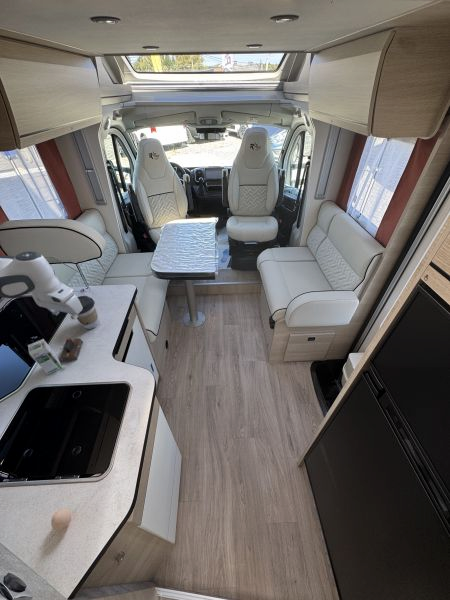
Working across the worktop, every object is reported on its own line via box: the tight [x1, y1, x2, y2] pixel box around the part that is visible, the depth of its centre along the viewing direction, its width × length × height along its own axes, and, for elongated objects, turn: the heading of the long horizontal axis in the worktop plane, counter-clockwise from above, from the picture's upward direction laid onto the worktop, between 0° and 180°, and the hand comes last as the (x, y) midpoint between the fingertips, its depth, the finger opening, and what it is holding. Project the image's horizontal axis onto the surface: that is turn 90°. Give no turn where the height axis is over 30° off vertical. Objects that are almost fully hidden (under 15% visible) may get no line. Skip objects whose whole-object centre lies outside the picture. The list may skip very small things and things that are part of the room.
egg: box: [50, 508, 72, 531], centre depth 69 cm, size 4×4×6 cm
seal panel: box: [59, 337, 84, 363], centre depth 114 cm, size 10×9×3 cm
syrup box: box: [27, 338, 63, 376], centre depth 104 cm, size 6×6×14 cm
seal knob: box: [62, 337, 74, 352], centre depth 111 cm, size 5×2×4 cm, turn 9°
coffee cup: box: [76, 295, 100, 330], centre depth 122 cm, size 11×11×15 cm
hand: (65, 316), depth 106 cm, fingers open, 8 cm apart
